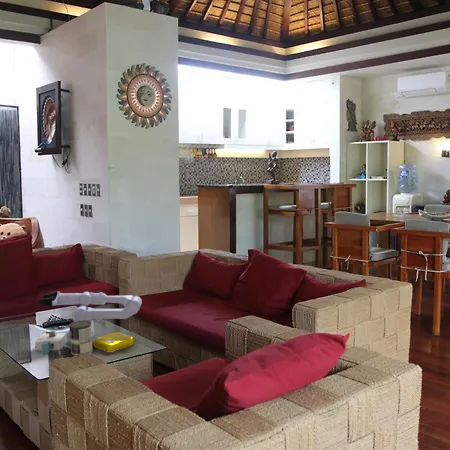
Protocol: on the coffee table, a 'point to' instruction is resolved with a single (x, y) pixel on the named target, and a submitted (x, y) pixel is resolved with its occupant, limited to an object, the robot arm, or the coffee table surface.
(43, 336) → the housing
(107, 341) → the element tile
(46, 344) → the block
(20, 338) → the coffee table surface
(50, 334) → the plunger
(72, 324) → the coffee can
